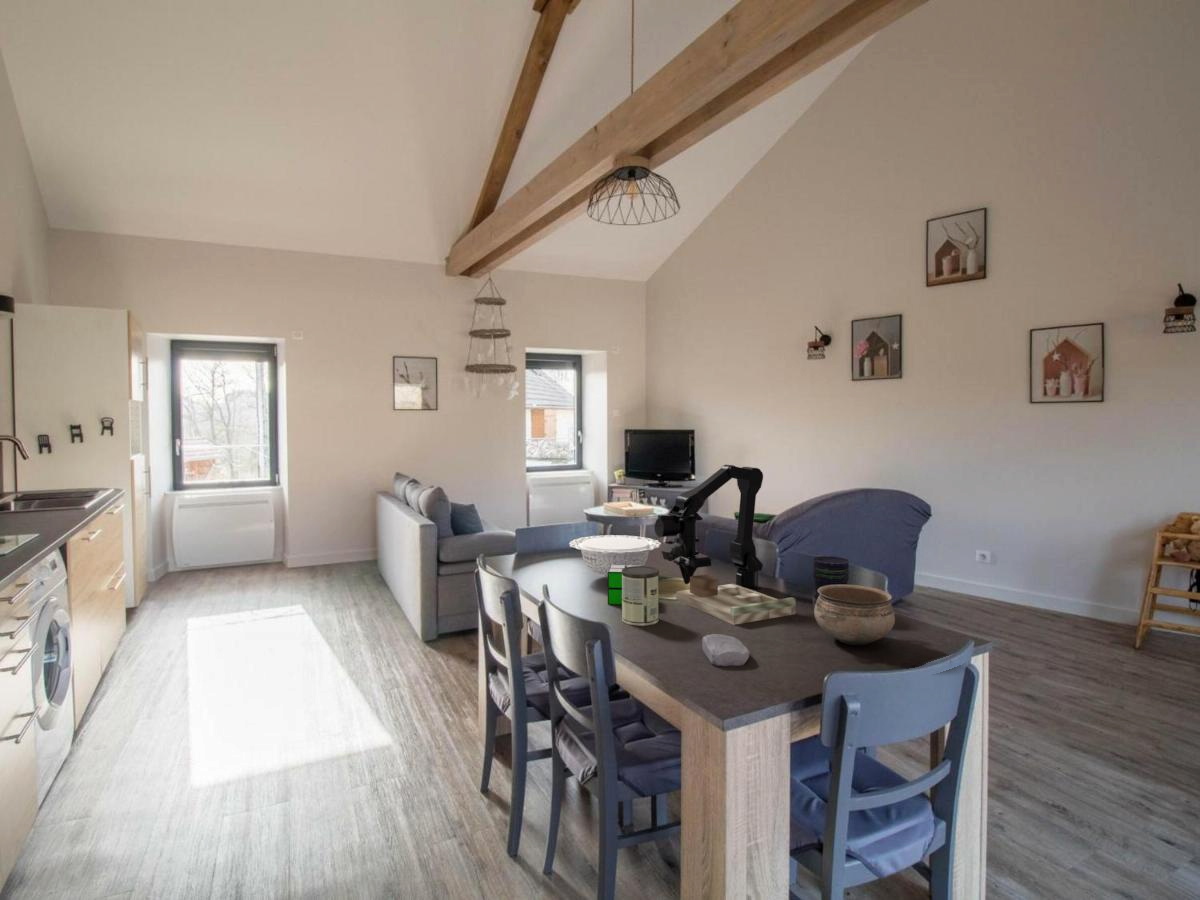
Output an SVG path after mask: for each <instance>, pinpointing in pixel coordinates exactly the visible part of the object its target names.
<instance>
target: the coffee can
mask: <svg viewBox="0 0 1200 900" xmlns="http://www.w3.org/2000/svg"><path fill="white" fill-rule="evenodd" d="M659 574H660V570H659V568H657V567H653V566H647V565H643V566H638V565H637V566H631V567H626V568H623V569H622V605H621V609H622V611H621V614H622V615H621V617H622V618H621V621H622V623H625V624H627V625H631V626H640V627H645V626H651V625H656V624H658V623H659V616H660V615H659V608H660V607H659V602H660V601H659V595H660V594H659V593H660V592H659V591H660V590H659V588H660V587H659V586H660V585H659V581H660V580H659V578H660V575H659Z"/></svg>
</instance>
